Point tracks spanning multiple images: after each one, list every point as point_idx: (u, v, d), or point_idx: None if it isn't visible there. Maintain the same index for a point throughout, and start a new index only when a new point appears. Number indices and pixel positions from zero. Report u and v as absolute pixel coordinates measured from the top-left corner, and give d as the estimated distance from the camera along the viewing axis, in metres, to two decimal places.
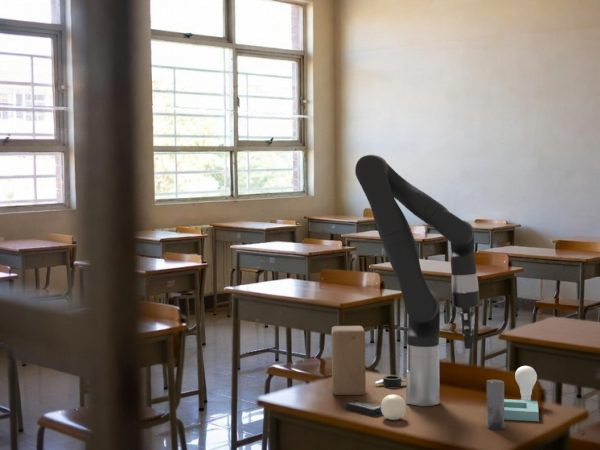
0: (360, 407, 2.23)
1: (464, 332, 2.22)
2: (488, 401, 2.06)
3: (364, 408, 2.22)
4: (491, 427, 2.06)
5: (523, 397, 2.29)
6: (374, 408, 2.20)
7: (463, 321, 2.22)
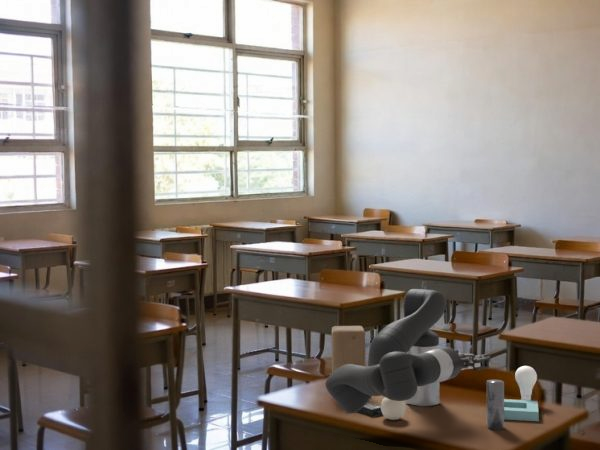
0: None
1: (488, 365, 1.89)
2: (488, 401, 2.06)
3: (363, 408, 2.22)
4: (491, 427, 2.06)
5: (523, 397, 2.29)
6: (373, 408, 2.20)
7: (481, 367, 1.87)
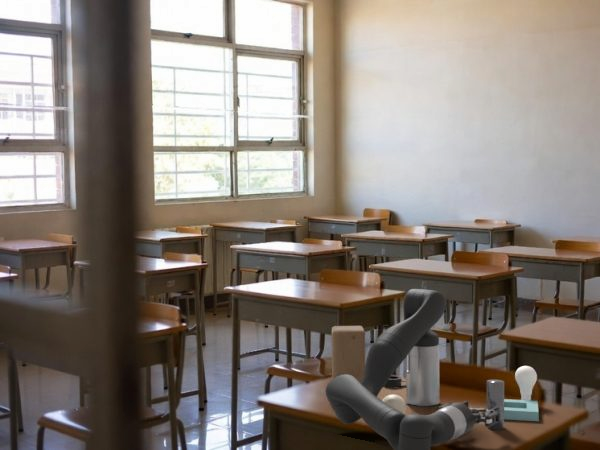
0: None
1: (499, 419, 1.93)
2: (488, 401, 2.06)
3: None
4: (491, 427, 2.06)
5: (523, 397, 2.29)
6: None
7: (493, 422, 1.91)
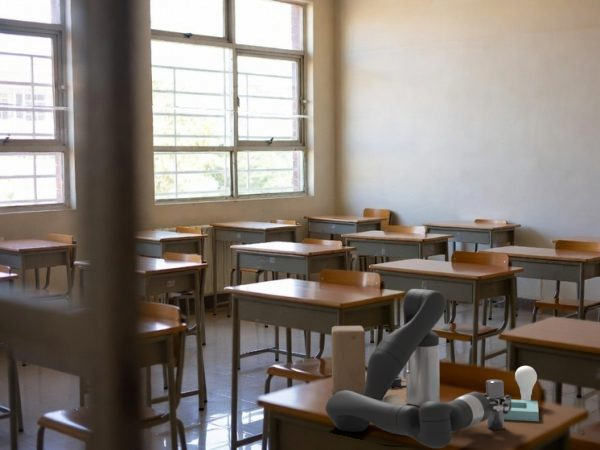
0: None
1: (510, 406, 2.02)
2: None
3: None
4: (491, 427, 2.06)
5: (523, 397, 2.29)
6: None
7: (509, 409, 1.99)
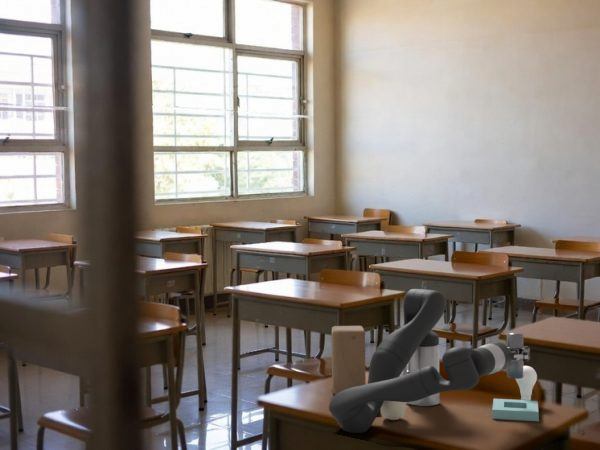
0: None
1: (529, 356, 2.14)
2: None
3: None
4: (511, 376, 2.18)
5: (523, 397, 2.29)
6: None
7: (528, 358, 2.11)
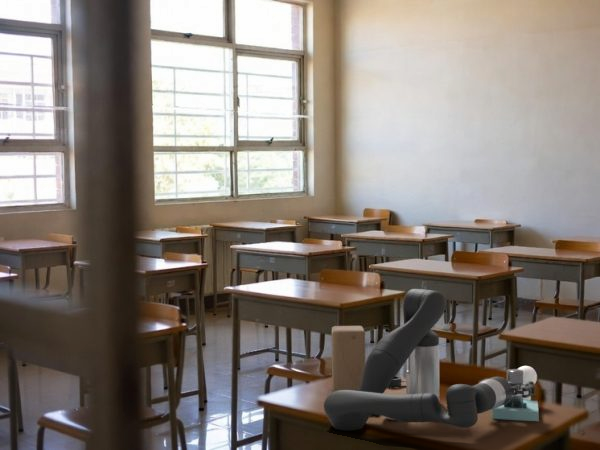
0: None
1: (534, 392, 2.12)
2: None
3: None
4: None
5: None
6: None
7: (529, 394, 2.10)
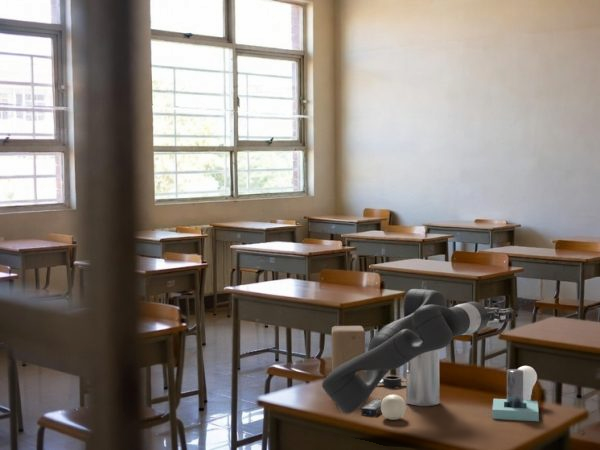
0: None
1: (512, 317, 2.02)
2: (508, 389, 2.18)
3: None
4: None
5: (523, 397, 2.29)
6: (365, 407, 2.22)
7: (506, 319, 1.99)
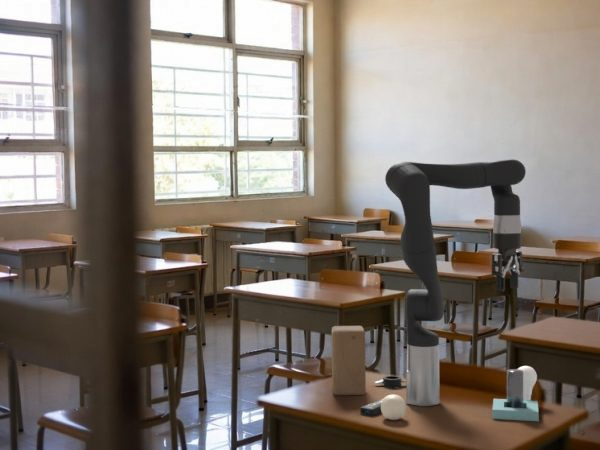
0: None
1: None
2: (508, 389, 2.18)
3: None
4: None
5: (523, 397, 2.29)
6: (364, 406, 2.22)
7: None
